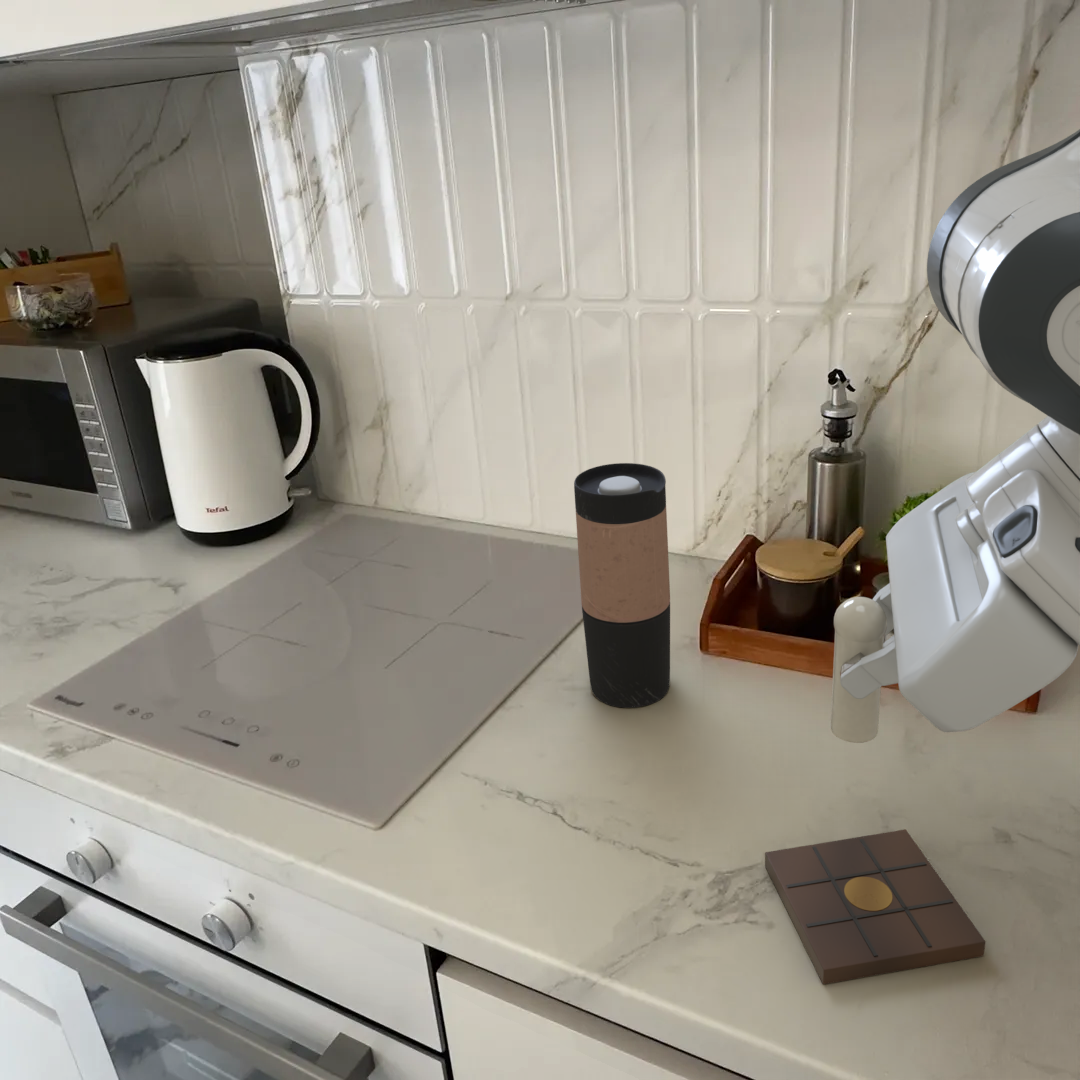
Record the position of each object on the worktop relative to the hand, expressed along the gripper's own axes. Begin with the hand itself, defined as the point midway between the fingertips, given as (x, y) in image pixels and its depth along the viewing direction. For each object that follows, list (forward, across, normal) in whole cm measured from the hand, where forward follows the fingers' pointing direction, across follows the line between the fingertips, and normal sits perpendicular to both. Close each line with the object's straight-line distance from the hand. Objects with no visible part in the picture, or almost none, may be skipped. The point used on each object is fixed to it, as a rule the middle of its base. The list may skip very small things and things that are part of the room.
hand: (847, 666), depth 59 cm
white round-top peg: (+3, 0, +4) cm, 5 cm away
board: (+10, +3, +13) cm, 17 cm away
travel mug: (+24, -20, -1) cm, 32 cm away
